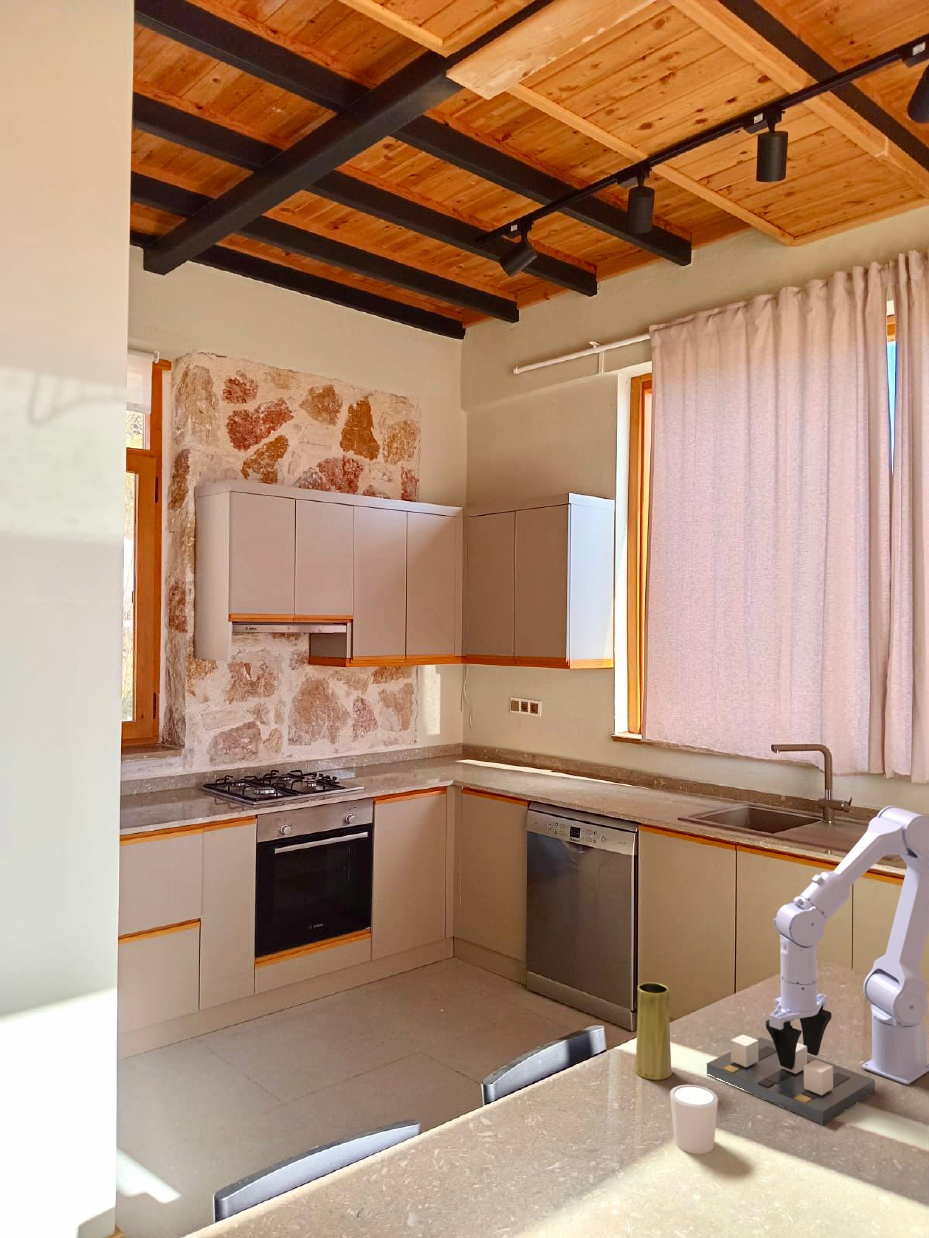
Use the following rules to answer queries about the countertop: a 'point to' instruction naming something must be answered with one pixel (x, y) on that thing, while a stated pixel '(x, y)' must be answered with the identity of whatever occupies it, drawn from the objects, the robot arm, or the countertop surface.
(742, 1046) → the switch
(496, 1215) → the countertop surface
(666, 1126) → the countertop surface
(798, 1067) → the switch
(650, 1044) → the vase
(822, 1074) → the switch
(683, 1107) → the white cup
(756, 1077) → the console
